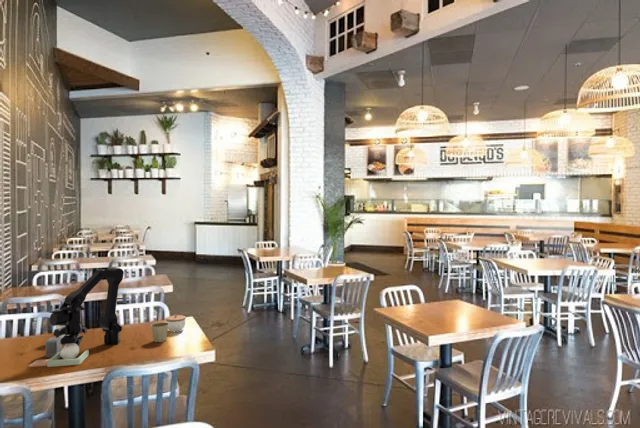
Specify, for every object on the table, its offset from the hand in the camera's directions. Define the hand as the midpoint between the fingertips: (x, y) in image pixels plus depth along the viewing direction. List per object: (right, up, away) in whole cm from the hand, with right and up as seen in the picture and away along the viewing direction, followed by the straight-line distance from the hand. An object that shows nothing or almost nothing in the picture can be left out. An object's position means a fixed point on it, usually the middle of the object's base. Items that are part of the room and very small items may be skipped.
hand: (74, 352), depth 215 cm
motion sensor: (+1, -2, -6) cm, 7 cm away
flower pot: (+33, -1, +22) cm, 40 cm away
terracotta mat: (-9, -1, -11) cm, 14 cm away
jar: (-18, -1, +23) cm, 29 cm away
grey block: (-10, -1, 0) cm, 10 cm away
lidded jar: (+36, 0, +41) cm, 54 cm away
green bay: (+2, -1, -8) cm, 8 cm away
